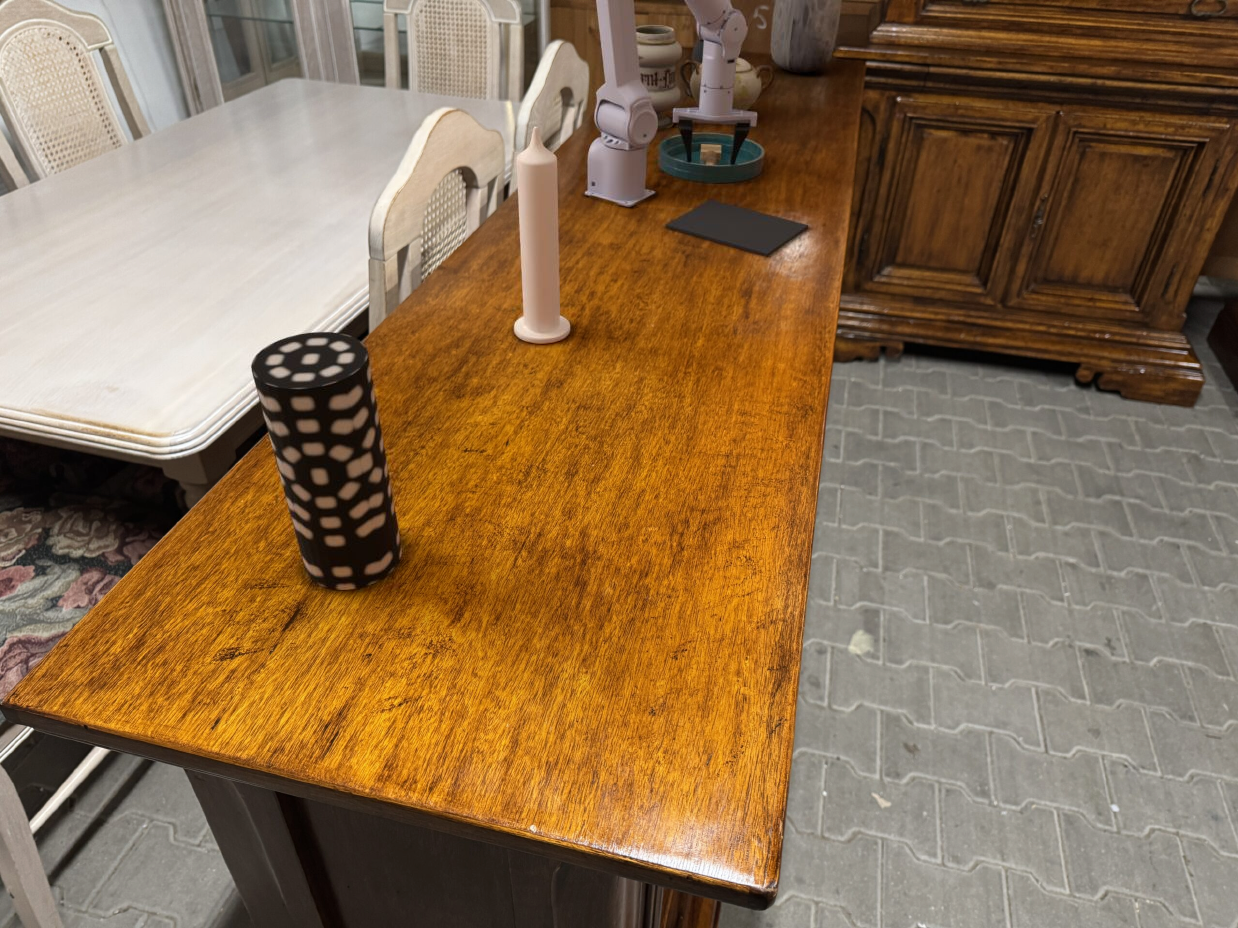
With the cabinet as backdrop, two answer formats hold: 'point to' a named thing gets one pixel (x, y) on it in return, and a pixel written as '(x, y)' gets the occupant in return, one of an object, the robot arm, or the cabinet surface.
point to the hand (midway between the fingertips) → (710, 164)
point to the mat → (738, 227)
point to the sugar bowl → (744, 86)
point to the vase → (804, 33)
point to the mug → (697, 55)
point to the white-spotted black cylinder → (330, 456)
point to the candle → (539, 245)
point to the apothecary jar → (659, 67)
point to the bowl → (676, 165)
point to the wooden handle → (710, 154)
